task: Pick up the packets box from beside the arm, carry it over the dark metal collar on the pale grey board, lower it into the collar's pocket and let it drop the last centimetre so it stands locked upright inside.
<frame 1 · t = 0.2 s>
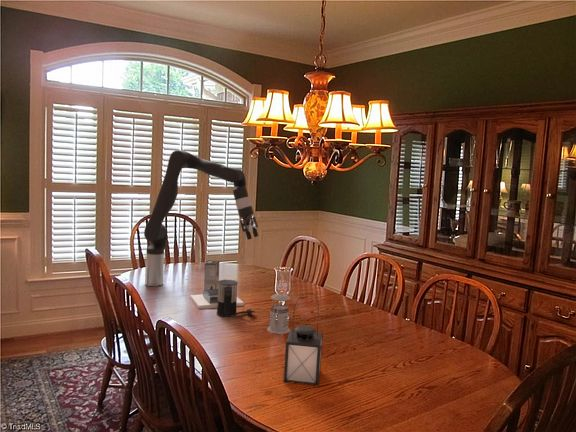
hand: (253, 237, 237), 31 cm above the table, tool tilted 20°, fingers open, 8 cm apart
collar: (216, 295, 229), on the base board, point 3 cm above the table
lantern: (302, 377, 153), on the table
milk frother: (235, 315, 212), on the table
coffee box: (211, 292, 247), on the table
glass oil lamp: (278, 330, 195), on the table
base board: (216, 301, 230), on the table
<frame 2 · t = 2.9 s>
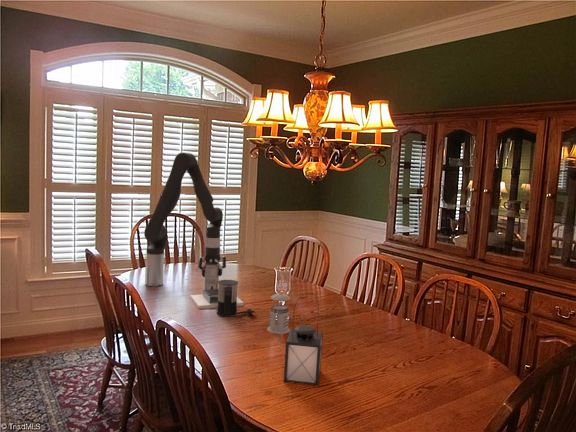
hand: (211, 276, 246), 8 cm above the table, tool pointing down, fingers open, 8 cm apart
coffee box: (211, 292, 247), on the table, touching gripper
everything else where it was.
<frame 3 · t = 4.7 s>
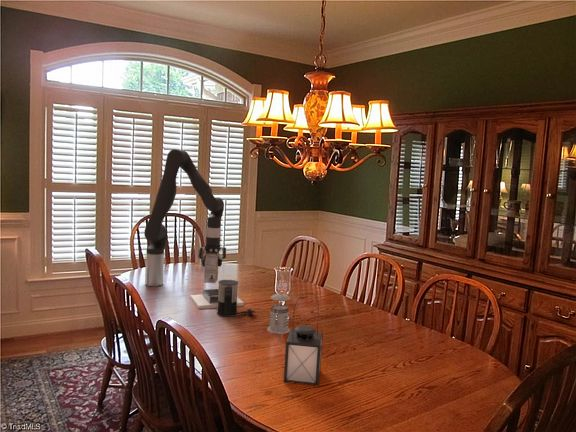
hand: (211, 266, 246), 14 cm above the table, tool pointing down, fingers closed on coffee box, 8 cm apart
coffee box: (210, 281, 246), point 6 cm above the table, touching gripper
everything else where it was.
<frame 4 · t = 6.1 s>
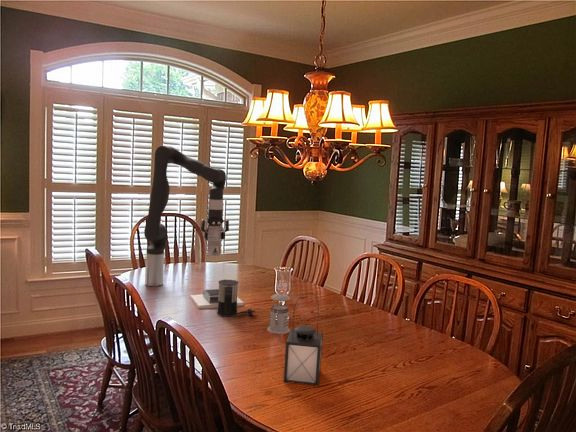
hand: (214, 239, 241), 28 cm above the table, tool pointing down, fingers closed on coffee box, 8 cm apart
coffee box: (214, 255, 242), point 20 cm above the table, touching gripper
everything else where it was.
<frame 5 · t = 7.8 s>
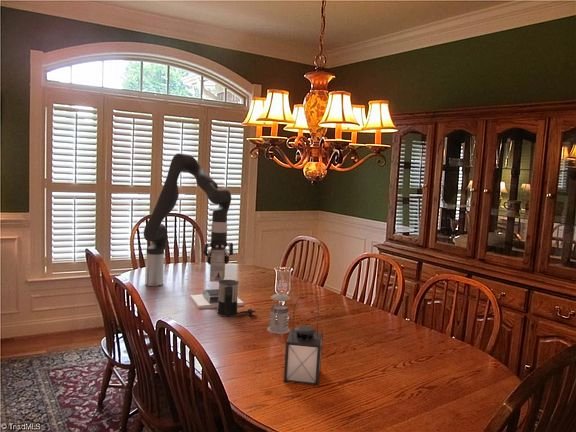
hand: (217, 263, 228), 19 cm above the table, tool pointing down, fingers closed on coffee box, 8 cm apart
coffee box: (217, 279, 229), point 11 cm above the table, touching gripper
everything else where it was.
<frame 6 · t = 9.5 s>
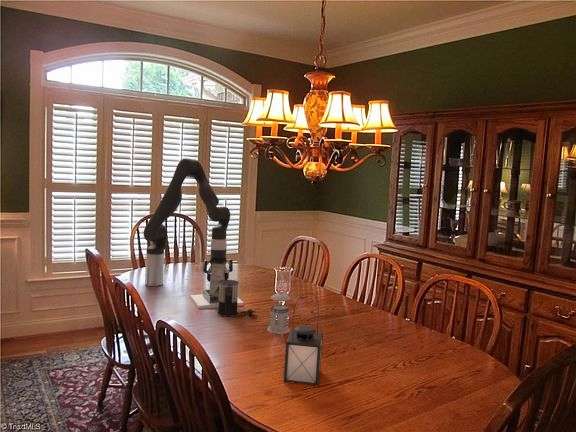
hand: (217, 280, 228), 11 cm above the table, tool pointing down, fingers closed on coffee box, 8 cm apart
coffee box: (216, 293, 229), point 4 cm above the table, touching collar, gripper
everything else where it was.
when the fingers open (10 cm above the table, at t = 10.3 s): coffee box stays where it is, resting on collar.
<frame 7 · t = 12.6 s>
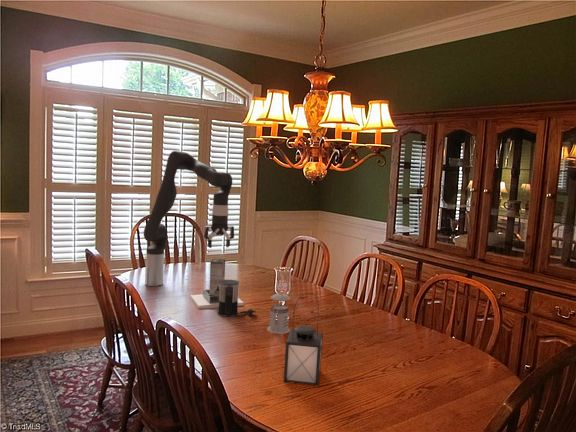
hand: (218, 247, 227), 27 cm above the table, tool pointing down, fingers open, 8 cm apart
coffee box: (216, 293, 229), point 4 cm above the table, touching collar
everything else where it was.
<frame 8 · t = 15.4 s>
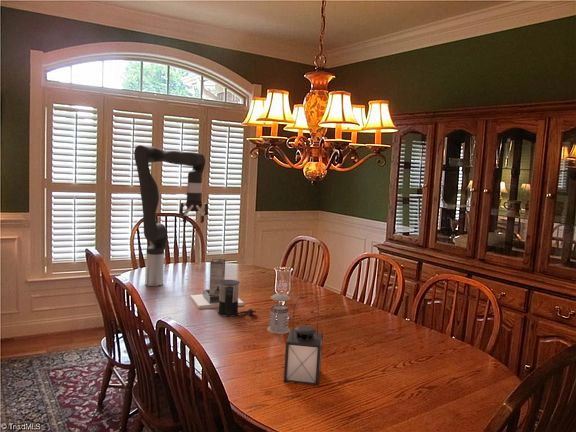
hand: (193, 223, 242), 36 cm above the table, tool pointing down, fingers open, 8 cm apart
nothing on the table moved.
at the end: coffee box 0.1 cm off-centre on the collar, point 4.3 cm above the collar's base; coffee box tilted 0°; the gripper is holding nothing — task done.
